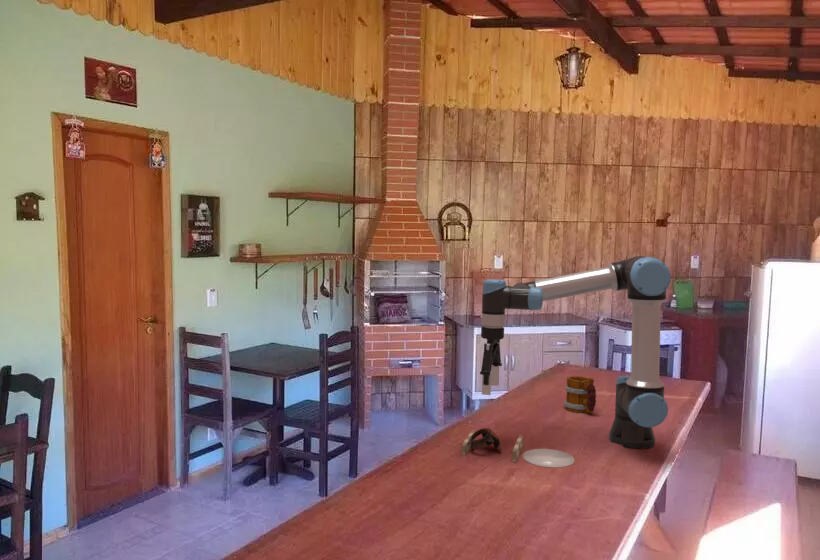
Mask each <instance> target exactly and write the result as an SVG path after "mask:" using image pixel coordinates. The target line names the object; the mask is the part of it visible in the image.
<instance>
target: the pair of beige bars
mask: <svg viewBox="0 0 820 560" xmlns="http://www.w3.org/2000/svg"><path fill="white" fill-rule="evenodd" d="M475 432H476V430H475V429H474V430H473V429H472V430H471V431H470V433H469V434H468V435H467V437H466V438H465V439H464V441H463V443H462V444H461V456H464V457H465V456H467V453H468V452H469V450H470V449H471V441H470V439H471V438H472V437H471V436H472V434H473V433H475ZM523 437H524V436H523V435H518V437H517V439H516V442H515V444H514V447H513V448H512V452H511V455H512V460H511V462H512V463H516V462H517V461H518V458H519V456H520V453H521V452H522V448H523V445H524V444H523V443H524V442H523V441H524V440H523V439H524V438H523ZM474 440H476V438H475V439H474Z"/></svg>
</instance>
